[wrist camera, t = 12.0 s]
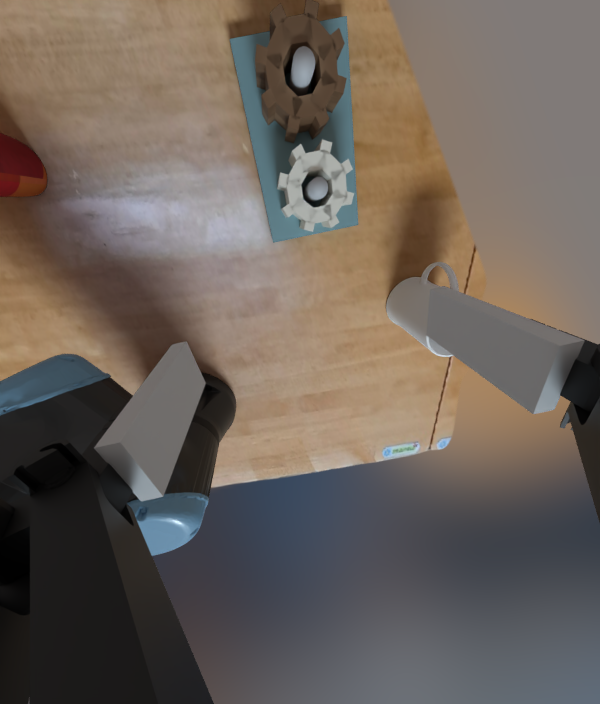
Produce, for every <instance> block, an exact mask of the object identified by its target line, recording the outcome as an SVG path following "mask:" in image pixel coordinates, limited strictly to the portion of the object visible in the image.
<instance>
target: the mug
mask: <svg viewBox="0 0 600 704" xmlns="http://www.w3.org/2000/svg"><path fill="white" fill-rule="evenodd" d="M435 266H440V267H442V268H443V269H444V270H445V272H446V273H447V275H448V278H449V282H450V289H453V290H455V291H458V292H459V289H458V282H457V278H456V275H455V273H454V271H453V270H452V268H451V267H450V266H449V265H447V264H446V263H443V262H435V263H432V264H430V265H429V266H428V267H427V268H426V269H425V270H424V272H423V274H422V276H421V277H411V278H408V279H405V280H403V281H402V282H400V283H399V284H398V285H396V286H395V288H394V289H393V290H392V291H391V293H390V295H389V297H388V299H387V303H386V311H387V315H388V317H389V319H390V320H391V321H392V322H393V323H395V324H397V325H399V326H401V327H402V328H403V329H404V330H406V331H407V332H408V333H409V334H410V335H412V336H413V337H414V338H415V339H417V340H418V341H419V342H420V343H421V344H423V345H424V346H425V347H426V348H428V349H429V350H430V351H431V352H433V353H434V354H436V355H438V356H443V357H449V356H454V355H452V354H451V353H450V352H448V351H447V350H446V349H444V348H443V347H441V346H440V345H439V344H437V343H436V342H435V341H433V340H432V339H431V338H429V337H428V336H427V335H426V333H427V320H428V308H429V296H430V289H433V288H438V287H440V286H438V285H435V284H433V283H431V282H430V281H428V280H427V278H428V275H429V273H430V271H431V270H432V269H433V268H434V267H435Z"/></svg>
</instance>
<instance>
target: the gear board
mask: <svg viewBox="0 0 600 704" xmlns="http://www.w3.org/2000/svg"><path fill="white" fill-rule="evenodd" d="M319 22H320V24H321V25H322V26H323V27H324V28H325V29H326V31H327V32H328V33H329V34H330V35H331V34H332V33H333V32H334V31H336V30H337V29H338V28H339V29H340V31H341V34H342V37H343V40H344V43H345V44H344V46H343V49H342V51H341V53H340V55H339V58H338V60H337V70H338V75H340V76H343V77H345V78H347V80H346V84H345V89H344V93H343V95H342V97H341V98H340V100H339V102H338V103H337V105H336V107H335V108H334V110H333V112H332V113H331V112H328V111H327V114H328V116H329V120H328V122H327V123H326V125H325V126H324V128H323V130H322V131H321V133H320V134H319V135H318V136H316V137H315V138H314V139H313V140H312V138H311V136H310V134H309V132H308V131H307V132H302V133H297V136H296V138H295V141H294V143H291V142H287V141H285V134H286V130H285V129H284V128H282V127H281V126H280V125H279V124H278V123H277V122H276V121H275V120H274V121H273V122H272V123H271V124H270V125H268V124H267V123H266V121H265V119H264V117H263V115H262V99H261V95H262V94H263V93H264V92H266V90H264V89H261V88H258V87H257V80H256V68H255V55H256V45H257V44H259V45H261V46H264V47H266V48H267V46H268V44H269V42H270V31H268V32H263V33H258V34H253V35H248V36H243V37H238V38H232V39H230V43H231V48H232V52H233V57H234V62H235V66H236V71H237V76H238V80H239V85H240V90H241V94H242V99H243V104H244V108H245V113H246V118H247V122H248V127H249V132H250V136H251V141H252V146H253V150H254V155H255V159H256V164H257V169H258V173H259V178H260V183H261V187H262V192H263V197H264V201H265V206H266V211H267V215H268V220H269V225H270V229H271V234H272V239H273V243H274V242H278V241H283V240H288V239H293V238H298V237H302V236H307V235H312V234H317V233H322V232H326V231H331V230H336V229H341V228H346V227H350V226H355V225H358V212H357V194H356V176H355V158H354V140H353V122H352V104H351V86H350V68H349V50H348V32H347V16H344V17H339V18H334V19H329V20H324V21H319ZM314 69H315V57H314V54H313V52H312V51H311V50H310V49H309V48H308V47H305V46H302V47H300V48H298V49H297V50H296V52H295V54H294V57H293V63H292V69H291V73H287V75H286V77H285V83H286V85H287V86H288V87H289V88H290V89H291V90H292V91H293V92H294V93H295V94H296V95H297V96H303V95H308V94H312V89H311V79H312V75H313V72H314ZM322 139H323V140H326V141H329V142H332V146H331V151H330V154H331V155H332V156H333V157H334V158H335V159H336V160H337V161H338V162H339V163H341V164H342V163H343V162H344V161H346V160H347V159H349V161H350V164H351V166H352V168H353V170H351V171H350V172H349V173H347V174H346V186H347V191H348V192H351V193H354V196H353V200H352V204H350V205H344V206H341V208H340V209H339V211H338V212H337V214H336V217H337V219H338V221H339V223H338V224H336V225H335V226H334V227H332V228H328V227H323V226H322V224H321V222H320V223H315V225H314V230H313V232H312V231H307V230H303V229H300V228H299V227H300V222H301V221H300V220H299V219H298V218H297V217H295V216H294V215H293V214H292V215H291V216H290V217H285V216H284V214H283V212H282V211H281V209H282V208H283V207H285V206H286V199H285V194H284V191H282V190H278V189H277V186H278V179H279V175H280V172H281V173H284V174H288V175H289V173H290V171H291V170H292V167H291V165H290V163H289V161H288V160H289V158H290V155H291V152H292V150H294V149H295V148H296V147H297V146H299V145H300V144H301V145H302V147H303V149H304V151H305V153H309V152H314V150H315V149H316V148H317V146H318V145H319V143H320V142H321V140H322ZM301 187H302V194H303V200H305V201H306V202H307V203H308V204H309V205H311V206H312V207H313V208H315V207H318V206H319V204H320V202H321V201H322V199H323V198H324V197H325V195H326V194H327V191H328V184H327V181H326V180H325V179H324V178H323V177H316V178H315V177H314V176H311V177H307V178H305V179H304V181H303V182H302V184H301Z"/></svg>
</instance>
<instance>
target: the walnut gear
mask: <svg viewBox="0 0 600 704" xmlns="http://www.w3.org/2000/svg"><path fill="white" fill-rule="evenodd" d="M318 7H319V3H318V2H315V1H313V0H306V4H305V10H304V14H300V15H295V16H290V17H286V14H285V12H284V10H283V7H282V5H281V3H280V4H279V5H278V6H277V7H276V8H275V9H273V10H272V11H271V12H270V42H269V44H268V46H267V48H266V47H264V46H261V45H259V44H257V45H256V55H255V68H256V80H257V87H258V88H261V89H264V90H266V92H264V93H263V94H262V95H261V99H262V115H263V117H264V119H265V121H266V123H267V124H268V125H270V124H271V123H272V122H273V121H274V120H275V121H276V122H277V123H278V124H279V125H280V126H281V127H282V128H284V129H285V130H286V134H285V141H287V142H291V143H294V141H295V138H296V136H297V133H302V132H307V131H308V132H309V134H310V136H311V138H312V140H313V139H314V138H315V137H316V136H318V135H319V134H320V133H321V131H322V130H323V128H324V126H325V125H326V123H327V122H328V120H329V116H328V114H327V111H328V112H331V113H332V112H333V110H334V108H335V107H336V105H337V103H338V102H339V100H340V98H341V97H342V95H343V93H344V89H345V84H346V80H347V78H345V77H343V76H340V75H338V70H337V60H338V58H339V55H340V53H341V51H342V49H343V46H344V44H345V43H344V40H343V37H342V34H341V31H340V29H339V28H338V29H337V30H336V31H334V32H333V33H332V34H331V35H330V34H329V33H328V32H327V31H326V29H325V28H324V27H323V26H322V25H321V24H320V22H319V21H318V20H317V13H318ZM302 46H305V47H308V48H309V49H310V50H311V51H312V52H313V54H314V57H315V69H314V72H313V75H312V79H311V89H312V94H308V95H303V96H297V95H296V94H295V93H294V92H293V91H292V90H291V89H290V88H289V87H288V86H287V85H286V83H285V77H286V75H287V73H291V69H292V63H293V57H294V54H295V52H296V50H297V49H298V48H300V47H302Z"/></svg>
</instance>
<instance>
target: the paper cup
mask: <svg viewBox="0 0 600 704" xmlns="http://www.w3.org/2000/svg"><path fill="white" fill-rule="evenodd" d="M46 186H47V173H46V170H45V168H44V165H43V164H42V162H41V160H40V159H39V157H38V156H37V155H36V154H35V153H34V152H33V151H32V150H31V149H30V148H29V147H28V146H26V145H25V144H23V143H22V142H20V141H18V140H16V139H14V138H11V137H9V136H7V135H4V134H2V133H0V197H25V196H36V195H39V194H41V193H42V192H43V191H44V190H45V188H46Z"/></svg>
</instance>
